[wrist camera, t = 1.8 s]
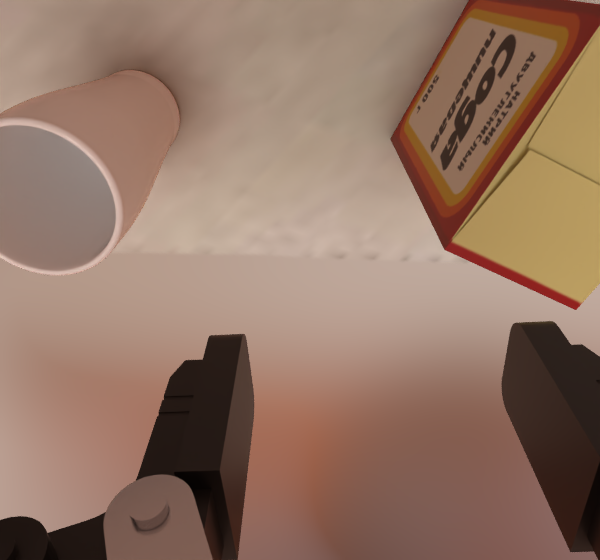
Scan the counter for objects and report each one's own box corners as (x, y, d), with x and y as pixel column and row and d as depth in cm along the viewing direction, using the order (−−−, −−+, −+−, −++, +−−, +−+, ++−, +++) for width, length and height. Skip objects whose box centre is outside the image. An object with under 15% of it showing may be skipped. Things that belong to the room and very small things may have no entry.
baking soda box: (476, -12, 30) (619, 6, 16) (568, 42, 32) (771, 102, 18) (390, 139, 35) (446, 254, 21) (474, 180, 36) (579, 315, 22)
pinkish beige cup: (95, 37, 32) (-50, 86, 19) (206, 80, 33) (141, 155, 20) (76, 143, 35) (-58, 247, 22) (178, 179, 36) (106, 299, 23)
